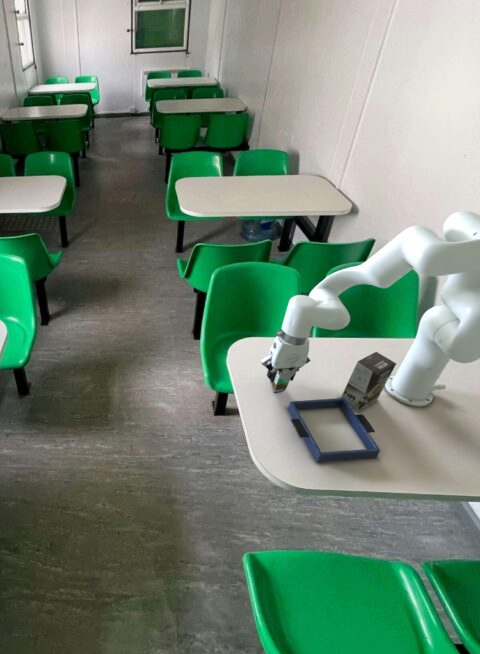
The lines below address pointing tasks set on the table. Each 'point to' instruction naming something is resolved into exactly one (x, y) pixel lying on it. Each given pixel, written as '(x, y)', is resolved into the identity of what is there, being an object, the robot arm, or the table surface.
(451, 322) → the robot arm
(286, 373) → the food container
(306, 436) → the roasting pan
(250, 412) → the table surface
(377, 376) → the coffee box
